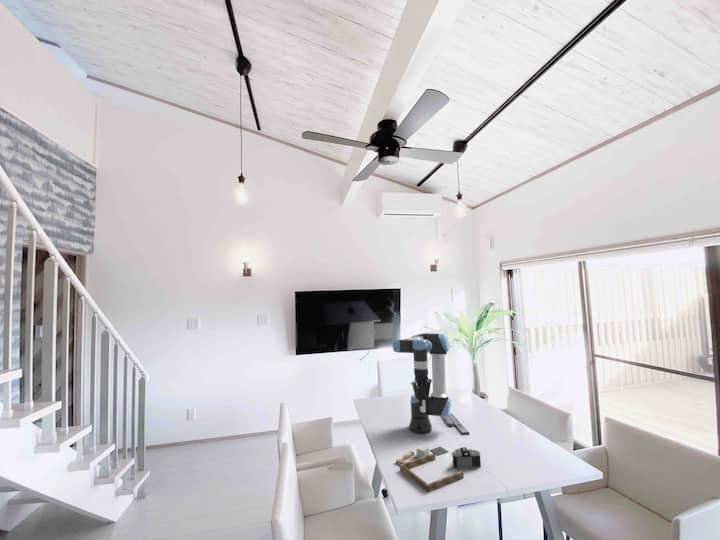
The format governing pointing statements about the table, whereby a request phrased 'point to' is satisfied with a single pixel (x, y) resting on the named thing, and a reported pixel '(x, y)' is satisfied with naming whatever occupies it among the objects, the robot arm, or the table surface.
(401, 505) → the table surface
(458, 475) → the brown wooden u frame
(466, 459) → the camera
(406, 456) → the crook
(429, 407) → the robot arm
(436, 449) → the pad
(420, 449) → the sage cube
